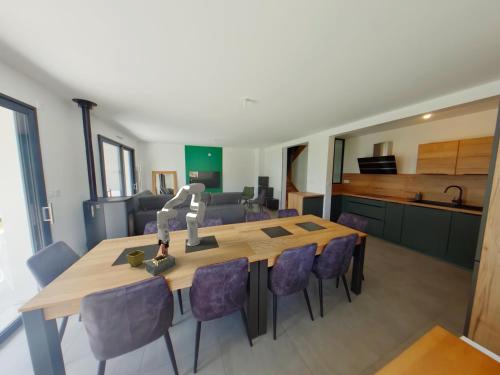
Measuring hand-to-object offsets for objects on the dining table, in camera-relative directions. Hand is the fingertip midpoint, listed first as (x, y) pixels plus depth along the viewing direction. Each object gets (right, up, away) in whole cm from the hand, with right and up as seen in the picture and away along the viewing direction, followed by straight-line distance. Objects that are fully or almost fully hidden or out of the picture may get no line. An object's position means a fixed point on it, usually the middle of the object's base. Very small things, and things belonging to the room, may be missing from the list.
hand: (163, 246), depth 137 cm
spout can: (0, -11, +2) cm, 11 cm away
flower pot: (-18, -12, -6) cm, 22 cm away
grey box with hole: (+4, -12, -11) cm, 17 cm away
